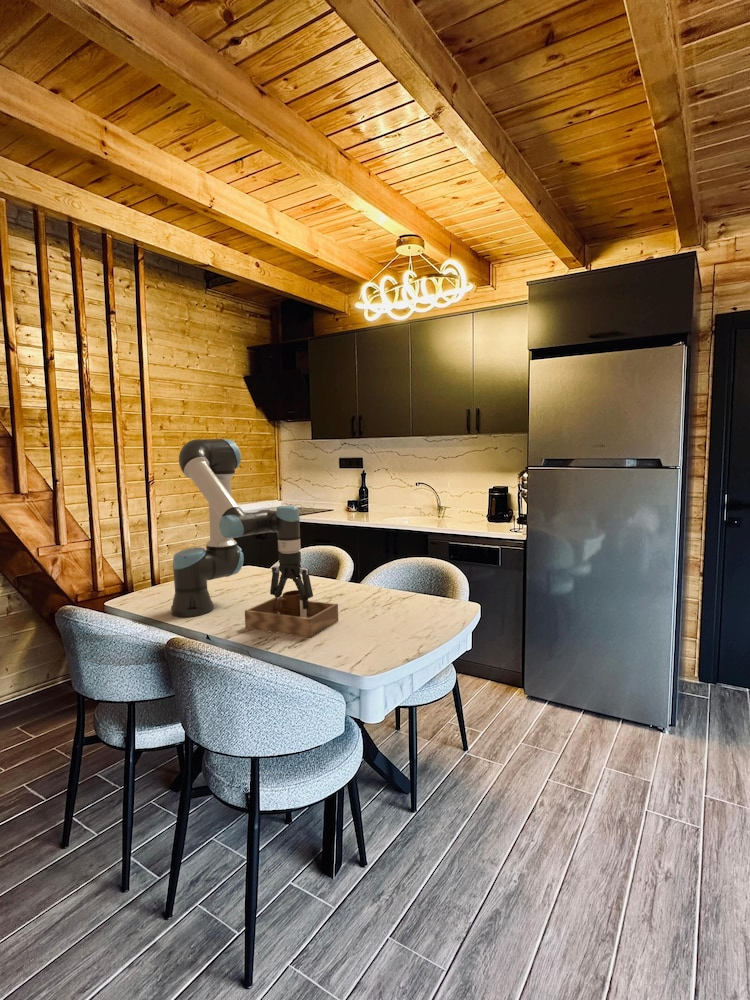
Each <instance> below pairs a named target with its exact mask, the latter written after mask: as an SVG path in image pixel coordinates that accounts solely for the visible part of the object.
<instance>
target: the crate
mask: <svg viewBox="0 0 750 1000" xmlns="http://www.w3.org/2000/svg"><path fill="white" fill-rule="evenodd" d="M275 602H276V600H275V597H273V598H271V599H268V600H266V601H264V602H262V603H260V604H258V605H255V606H253V607H250V608H248V609H246V610H244V623H245V626H244V627H245V629H247V628H248V629H247V630H254V629H256V630H257V631H261V630H264V631H263V632H268V631H271V632H270V633H275V632H278V633H277V634H282V633H285V634H284V635H289V634H292V635H291V636H296V635H300V636H299V637H303V636H307V637H306V638H310V637H311V638H313V637H315V636H316V635H318V634H320V633H321V632H323V631H325V630H326V629H327V627H328V628H329V627H331V626H333V625H334V624H336V623H338V621H339V604H338V603H332V602H323V601H322V602H321V601H314V600H308V608H307V609H306V611H307V616H312V617H310V618H306V617H298V616H289V615H284V614H283V615H281V614H278V611H277V610H276V608H275ZM325 628H326V629H325ZM256 630H255V631H256ZM322 630H323V631H322ZM319 632H320V633H319ZM317 633H318V634H317ZM314 635H315V636H314ZM312 636H313V637H312Z"/></svg>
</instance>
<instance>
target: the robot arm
mask: <svg viewBox="0 0 750 1000" xmlns="http://www.w3.org/2000/svg"><path fill="white" fill-rule="evenodd" d="M241 460H242V455H241V450H240V448H239V446H238V445H237V444H236V442H235V441H233V440H231V439H226V438H210V439H209V438H208V439H207V438H203V439H202V438H197V439H196V438H195V439H192V440H189V441H188V442H186V443H185V444H184V445H183V446H182V447H181V449H180V451H179V455H178V464H179V467H180V470H181V472H182V473H183V474H184V476H185V477H186V478H188V479H191V481H192V482H193V483H194V485H195V486H196V488H197V489H198V490H199V491H200V493H201V495H202V496H203V497H204V498H205V500H206V502H207V503H208V513H209V515H208V516H209V522H208V523H209V541H207V542H206V544H205V545H206V546H205V548H204V547H201V546H200V547H199V546H197V547H191V548H186V549H183V550H179V551H178V552H176V553H175V554H174V556H173V558H172V559H173V560H172V568H173V569H172V570H173V583H174V585H173V586H174V594H173V600H172V605H171V607H170V613H171V615H172V616H175V617H178V616H179V618H189V617H198V616H202V615H206V614H208V613H210V612H212V611H213V610H214V602H213V600H212V598H211V595H210V593H209V590H208V581H213V580H216V579H220V578H228V577H231V576H233V575H236V574H238V573H239V572H240V571H241V570H242V568H243V565H244V560H245V559H244V552H243V550H242V548H241V547H240V546H239V545H238V542H237V541H236V540H235V538H237V539H238V538H241V537H242V538H243V537H247V536H252V535H253V536H254V535H258V534H266V533H276V534H277V551H278V555H277V556H278V563H279V565H276V566H273V567H271V573H272V576H271V580H270V581H271V583H270V589H269V590H270V592H269V594H270V595H271V596H274V598H275V600H277V599H279V598H283V591H284V588H285V585H286V583H287V581H288V579H290V580H292V582H294V583H295V586H296V588H297V589H296V590H298V591H299V593H300V596H301V598H302V599H301V600H300V617H307V611H306V609H307V608H308V601H309V599H310V598H313V596H314V594H313V593H314V592H313V588H312V584H311V579H310V569H309V568H304V567H302V564H301V562H302V553H301V551H300V550H302V548H301V528H300V525H301V524H300V519H301V517H300V511H299V507H298V506H297V505H280V506H278V507H276V510H271V509H260V510H258V511H255V512H254V511H253V512H246V513H245V512H244V510H242V508H241V506H239V504H238V502H236V501H235V499H234V498H233V496H232V478H233V477H234V476H235V474H236V469H238V468H239V467H240V464H241V462H242V461H241ZM280 573H281V575H280ZM280 607H281V608H282V607H283V603H280ZM278 614H281V615H283V614H284V612H282V613H280V612H278Z"/></svg>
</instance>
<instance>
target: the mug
mask: <svg viewBox="0 0 750 1000" xmlns="http://www.w3.org/2000/svg"><path fill="white" fill-rule="evenodd" d="M282 596H283V598H279V599H277V600H276V602H275V608H276V610H277V611H278V612H280V613H282V612H284V615H289V616H298V617H300V600H301V599H302V598H301V596H300V593H299V591H298V589H296V590H289V591H285V592H282ZM280 603H283V607H282V608H281V607H280Z"/></svg>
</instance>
